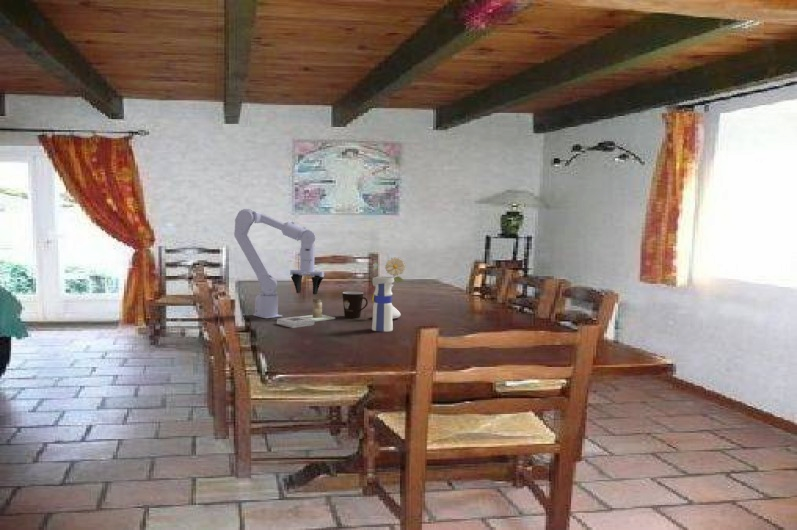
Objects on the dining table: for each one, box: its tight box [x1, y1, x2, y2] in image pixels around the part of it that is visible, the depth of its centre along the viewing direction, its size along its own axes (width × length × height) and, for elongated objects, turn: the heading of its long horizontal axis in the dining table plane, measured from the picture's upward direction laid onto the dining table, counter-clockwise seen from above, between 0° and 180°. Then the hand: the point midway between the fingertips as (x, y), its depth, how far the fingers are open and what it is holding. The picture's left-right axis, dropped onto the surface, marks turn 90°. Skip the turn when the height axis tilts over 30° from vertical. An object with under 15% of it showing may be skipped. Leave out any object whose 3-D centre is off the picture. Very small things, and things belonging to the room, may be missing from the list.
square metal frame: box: [276, 315, 316, 329], centre depth 241 cm, size 10×10×2 cm
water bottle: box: [371, 261, 395, 332], centre depth 234 cm, size 8×9×25 cm
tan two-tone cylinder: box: [312, 298, 323, 318], centre depth 255 cm, size 4×4×7 cm
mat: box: [299, 314, 336, 322], centre depth 255 cm, size 10×10×1 cm
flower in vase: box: [384, 257, 406, 320], centre depth 259 cm, size 13×11×25 cm
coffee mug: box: [342, 291, 369, 319], centre depth 259 cm, size 12×9×10 cm
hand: (306, 293), depth 258 cm, fingers open, 7 cm apart
